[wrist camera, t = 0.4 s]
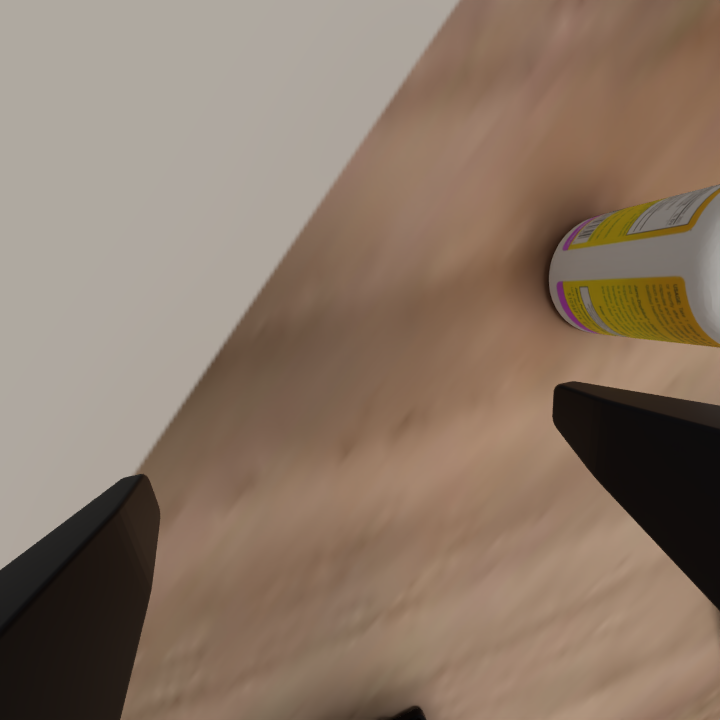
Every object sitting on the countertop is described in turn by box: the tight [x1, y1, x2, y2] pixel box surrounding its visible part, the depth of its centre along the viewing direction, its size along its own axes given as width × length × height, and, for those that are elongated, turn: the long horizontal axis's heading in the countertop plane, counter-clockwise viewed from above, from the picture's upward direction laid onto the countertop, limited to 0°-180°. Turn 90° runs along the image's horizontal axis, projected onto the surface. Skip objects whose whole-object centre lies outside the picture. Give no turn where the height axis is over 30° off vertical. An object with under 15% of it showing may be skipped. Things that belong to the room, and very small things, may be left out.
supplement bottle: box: [549, 184, 720, 347], centre depth 19 cm, size 7×7×13 cm
